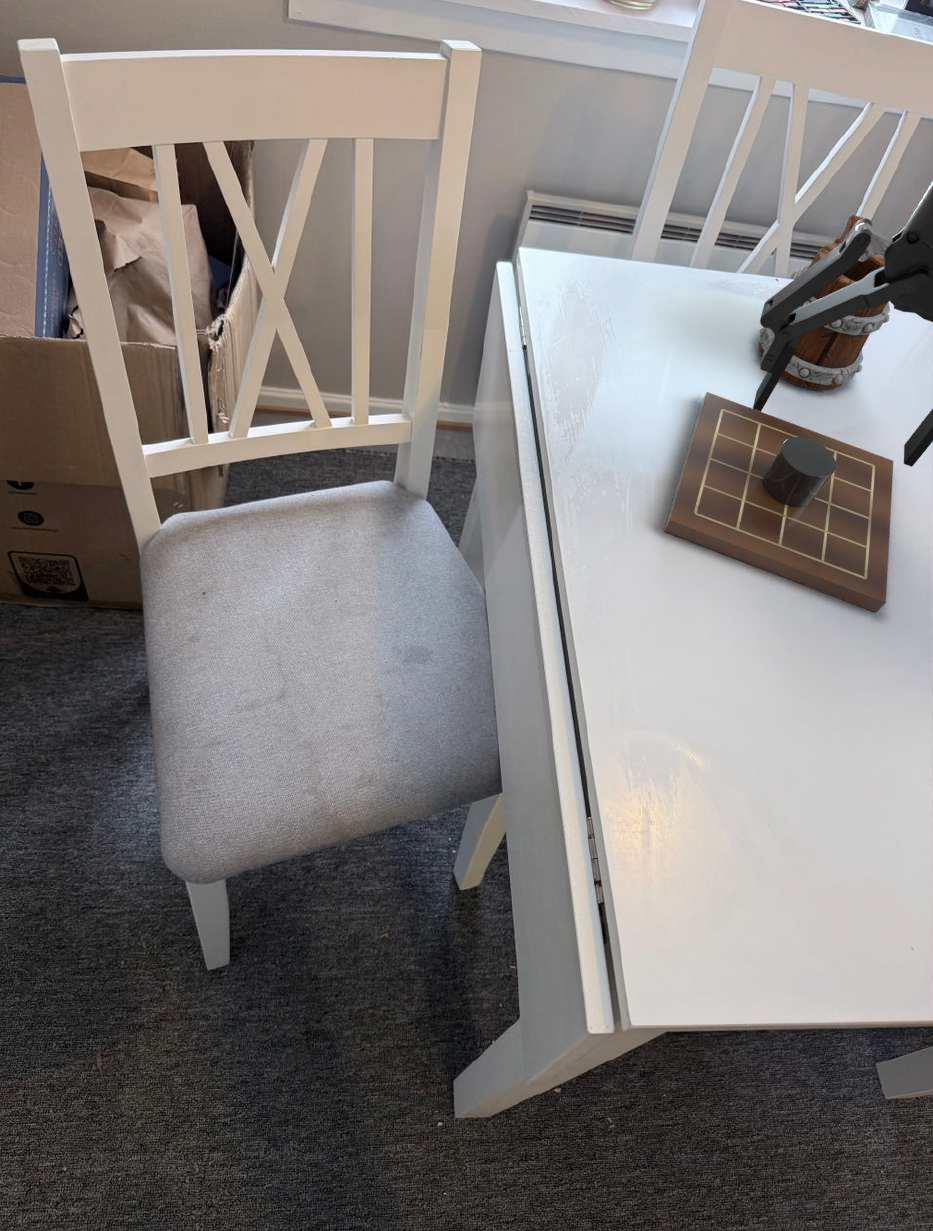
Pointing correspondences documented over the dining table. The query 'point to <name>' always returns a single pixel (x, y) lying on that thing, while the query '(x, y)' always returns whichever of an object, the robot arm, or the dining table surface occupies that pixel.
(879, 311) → the mug
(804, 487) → the dark grey puck
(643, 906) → the dining table surface
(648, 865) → the dining table surface
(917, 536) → the dining table surface
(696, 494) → the board
